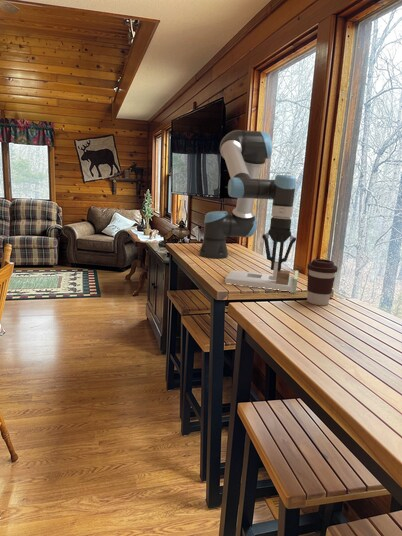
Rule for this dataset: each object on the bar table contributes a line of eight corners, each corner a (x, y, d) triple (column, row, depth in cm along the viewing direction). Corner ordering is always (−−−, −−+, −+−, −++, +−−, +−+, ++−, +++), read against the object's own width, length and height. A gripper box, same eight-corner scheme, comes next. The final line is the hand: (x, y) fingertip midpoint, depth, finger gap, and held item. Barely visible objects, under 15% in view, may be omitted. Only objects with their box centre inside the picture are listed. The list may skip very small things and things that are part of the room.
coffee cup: (300, 303, 133) (305, 261, 130) (306, 296, 142) (311, 256, 138) (329, 309, 129) (335, 265, 125) (334, 301, 137) (340, 260, 134)
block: (276, 280, 152) (278, 269, 151) (288, 282, 151) (289, 271, 150) (275, 283, 148) (277, 272, 146) (287, 285, 146) (289, 273, 145)
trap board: (231, 275, 165) (232, 263, 164) (296, 283, 159) (298, 270, 158) (224, 284, 151) (225, 270, 150) (295, 293, 145) (297, 279, 143)
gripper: (262, 216, 142) (256, 278, 147) (299, 219, 138) (291, 283, 144) (264, 215, 149) (259, 274, 154) (299, 218, 146) (292, 278, 151)
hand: (274, 278), depth 149 cm, fingers closed
